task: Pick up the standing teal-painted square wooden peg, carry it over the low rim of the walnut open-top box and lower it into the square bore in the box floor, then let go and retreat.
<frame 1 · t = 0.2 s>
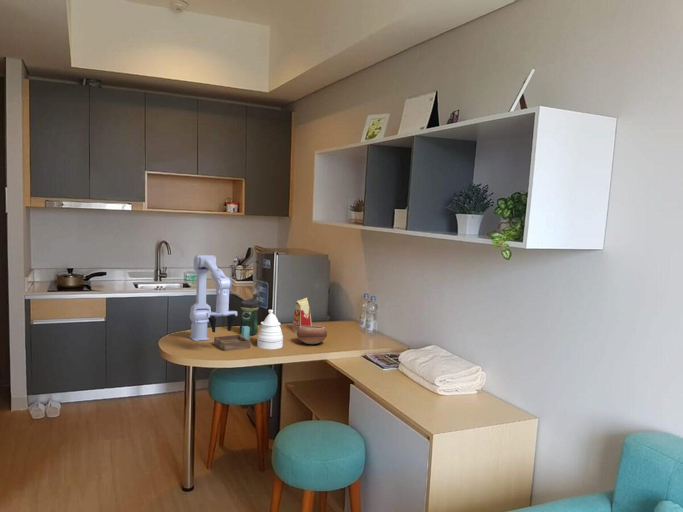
hand: (221, 331, 250), 10 cm above the table, fingers open, 7 cm apart
honey pot: (269, 346, 267), on the table
milk carton: (301, 332, 301), on the table
coffee jar: (248, 334, 290), on the table
bowl: (311, 344, 276), on the table
socket box: (231, 346, 262), on the table
peg: (245, 339, 276), on the table
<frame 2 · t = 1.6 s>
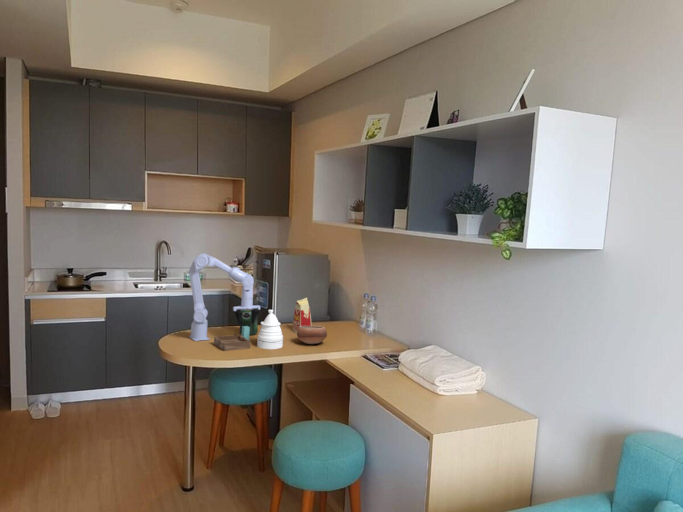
hand: (246, 323, 275), 9 cm above the table, fingers open, 7 cm apart
nothing on the table moved.
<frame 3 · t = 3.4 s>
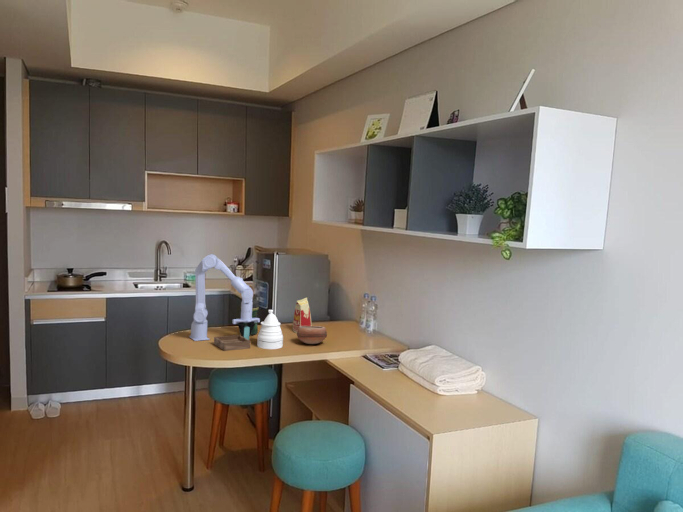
hand: (245, 336, 276), 2 cm above the table, fingers closed on peg, 3 cm apart
peg: (245, 339, 276), on the table, touching gripper
everything else where it was.
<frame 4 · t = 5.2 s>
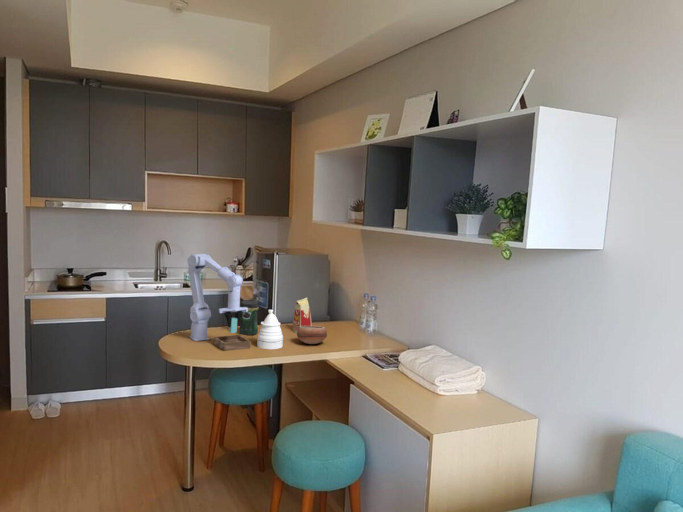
hand: (232, 326, 261), 10 cm above the table, fingers closed on peg, 3 cm apart
peg: (232, 332, 262), point 7 cm above the table, touching gripper
everything else where it was.
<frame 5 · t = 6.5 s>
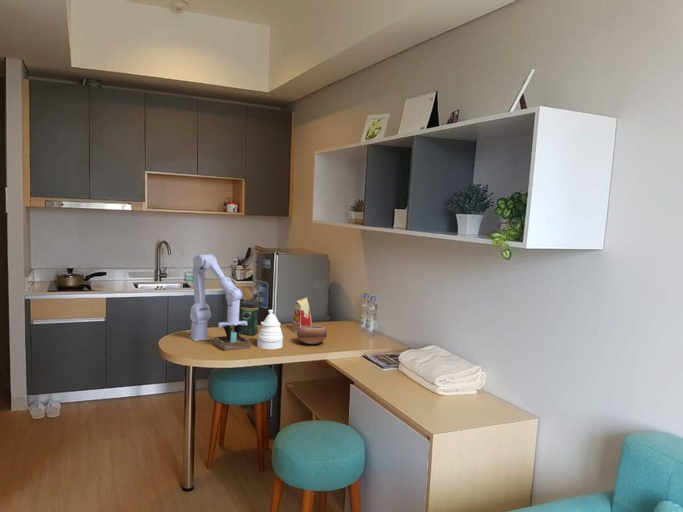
hand: (232, 340, 262), 3 cm above the table, fingers closed on peg, 3 cm apart
peg: (232, 346, 262), resting in socket box, touching gripper
everything else where it was.
when the fingers open (3 cm above the table, at t = 7.2 s): peg stays where it is, resting in socket box.
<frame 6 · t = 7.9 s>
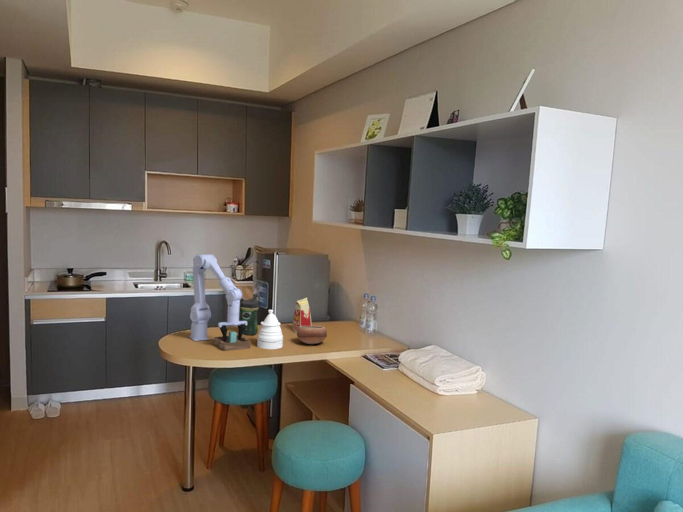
hand: (232, 340, 262), 3 cm above the table, fingers open, 7 cm apart
peg: (232, 346, 262), resting in socket box
everything else where it was.
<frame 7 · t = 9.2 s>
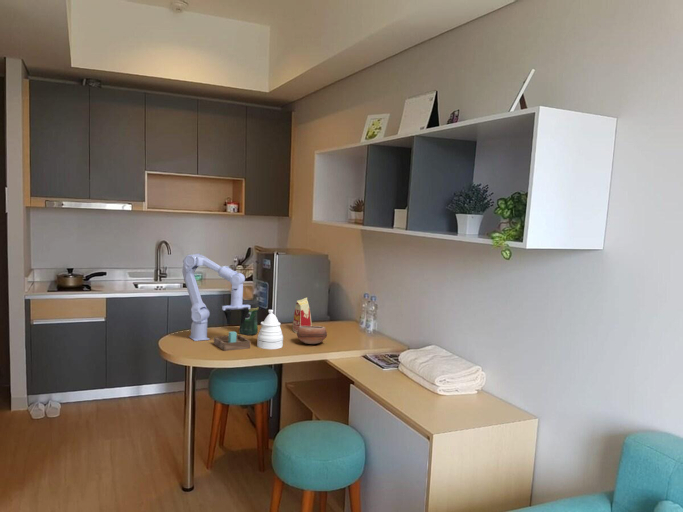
hand: (235, 323, 269), 10 cm above the table, fingers open, 7 cm apart
nothing on the table moved.
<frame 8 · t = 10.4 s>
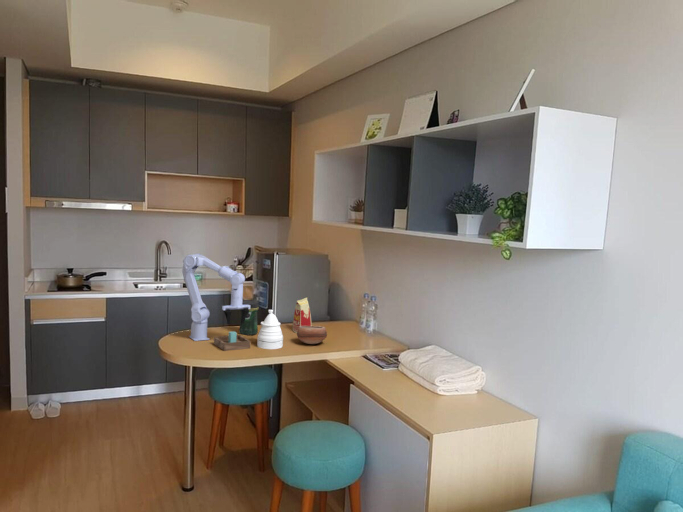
hand: (235, 323, 269), 10 cm above the table, fingers open, 7 cm apart
nothing on the table moved.
at the end: peg 0.1 cm off-centre on the socket box, point 0.0 cm above the socket box's base; peg tilted 0°; the gripper is holding nothing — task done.
